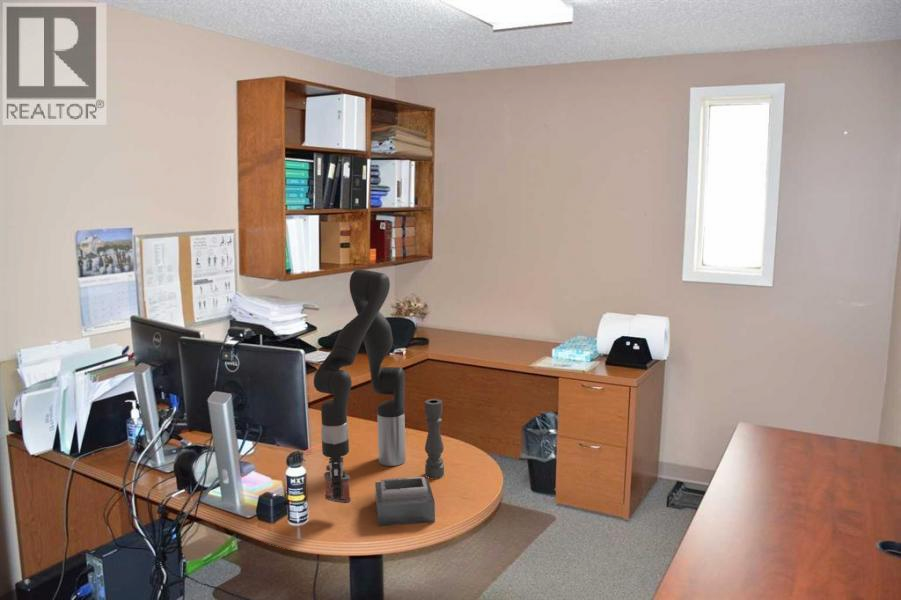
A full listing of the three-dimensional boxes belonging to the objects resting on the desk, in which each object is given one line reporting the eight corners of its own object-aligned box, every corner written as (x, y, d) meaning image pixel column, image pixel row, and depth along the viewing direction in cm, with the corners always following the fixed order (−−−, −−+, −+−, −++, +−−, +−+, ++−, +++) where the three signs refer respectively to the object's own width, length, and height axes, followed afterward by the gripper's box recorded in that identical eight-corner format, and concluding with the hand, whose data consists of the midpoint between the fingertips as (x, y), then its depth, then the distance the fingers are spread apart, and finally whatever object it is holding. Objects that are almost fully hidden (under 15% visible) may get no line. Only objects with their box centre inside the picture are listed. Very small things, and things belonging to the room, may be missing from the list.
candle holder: (441, 479, 229) (440, 405, 224) (423, 478, 230) (421, 404, 226) (445, 471, 235) (445, 399, 230) (427, 470, 236) (426, 398, 232)
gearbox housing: (375, 501, 214) (374, 474, 212) (428, 497, 216) (427, 470, 215) (378, 526, 198) (377, 497, 197) (434, 521, 200) (434, 493, 199)
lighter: (352, 499, 204) (351, 466, 202) (346, 504, 201) (345, 471, 199) (329, 494, 207) (328, 462, 205) (322, 499, 204) (321, 466, 202)
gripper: (322, 429, 207) (325, 483, 210) (320, 447, 193) (323, 506, 196) (348, 427, 208) (350, 481, 211) (348, 446, 194) (350, 503, 197)
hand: (337, 493), depth 204 cm, fingers closed on lighter, 4 cm apart
